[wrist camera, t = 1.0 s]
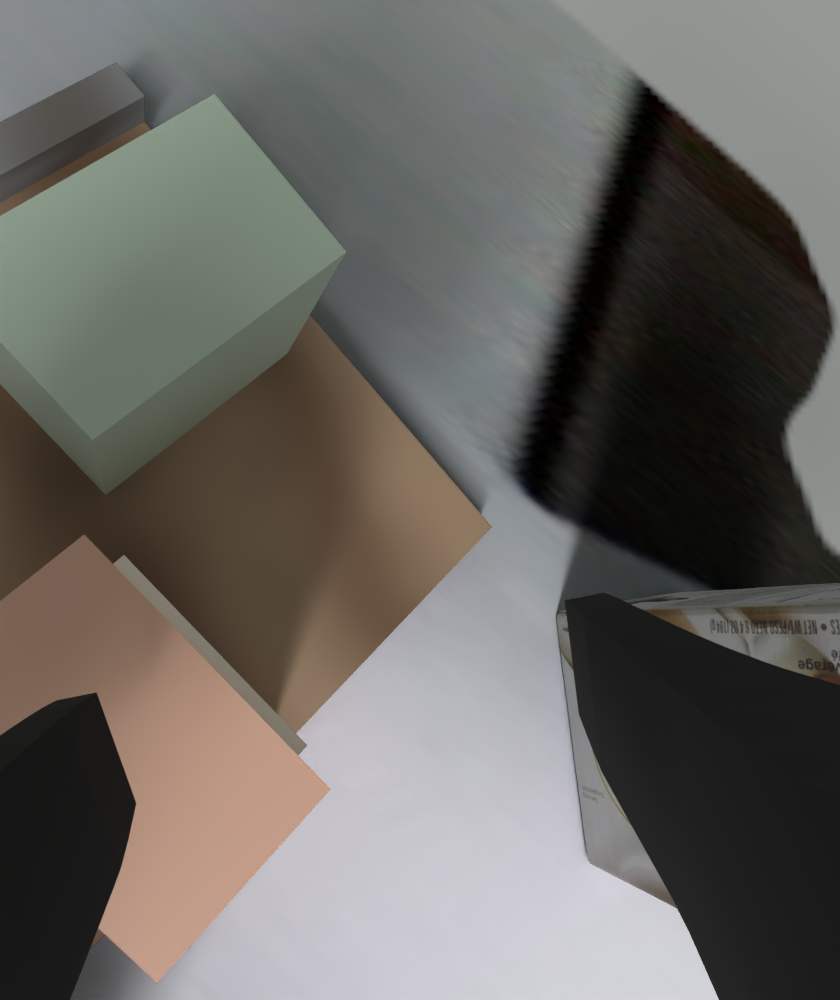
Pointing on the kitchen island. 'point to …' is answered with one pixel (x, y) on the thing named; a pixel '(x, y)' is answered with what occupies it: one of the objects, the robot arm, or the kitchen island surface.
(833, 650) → the coffee box
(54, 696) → the terracotta box
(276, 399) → the shelf board
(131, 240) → the sage box
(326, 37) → the kitchen island surface
